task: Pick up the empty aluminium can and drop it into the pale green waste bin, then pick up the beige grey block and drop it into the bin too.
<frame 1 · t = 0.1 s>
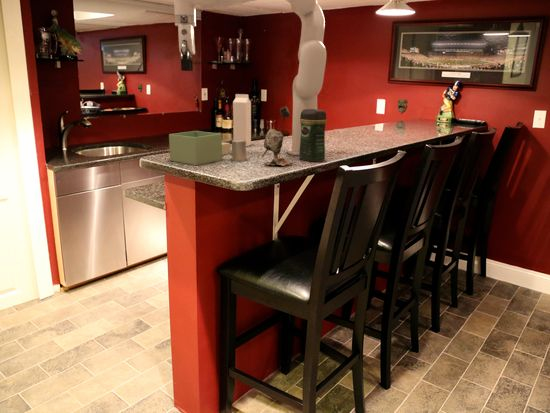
hand: (187, 70, 167), 31 cm above the countertop, tool pointing down, fingers open, 9 cm apart
coffee jar: (311, 160, 166), on the countertop
plant with pod: (275, 165, 156), on the countertop
beige grey block: (222, 153, 177), on the countertop
bin: (196, 160, 162), on the countertop
empty can: (239, 159, 165), on the countertop
milk: (242, 145, 197), on the countertop
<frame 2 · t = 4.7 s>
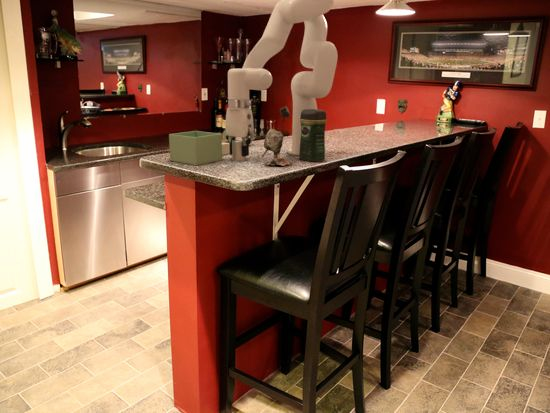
hand: (239, 154, 164), 2 cm above the countertop, tool pointing down, fingers closed on empty can, 5 cm apart
empty can: (239, 159, 165), on the countertop, touching gripper
everything else where it was.
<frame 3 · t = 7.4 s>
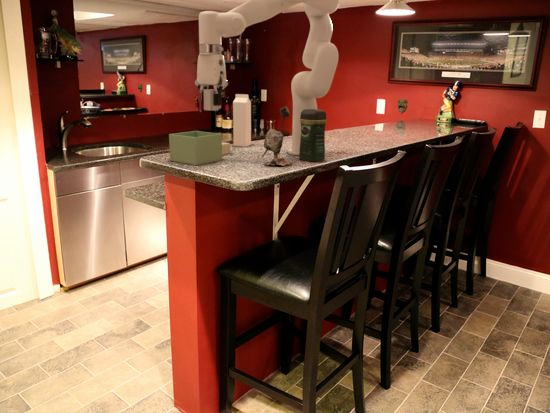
hand: (211, 104, 157), 20 cm above the countertop, tool pointing down, fingers closed on empty can, 5 cm apart
empty can: (211, 109, 158), point 18 cm above the countertop, touching gripper
everything else where it was.
when the fingers open (12 cm above the countertop, at t = 10.1 s): empty can drops 10 cm, resting on bin.
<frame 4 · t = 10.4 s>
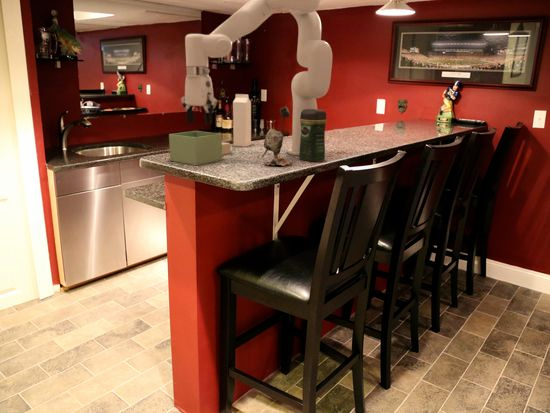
hand: (199, 123, 159), 13 cm above the countertop, tool pointing down, fingers open, 8 cm apart
empty can: (200, 158, 162), point 1 cm above the countertop, touching bin
everything else where it was.
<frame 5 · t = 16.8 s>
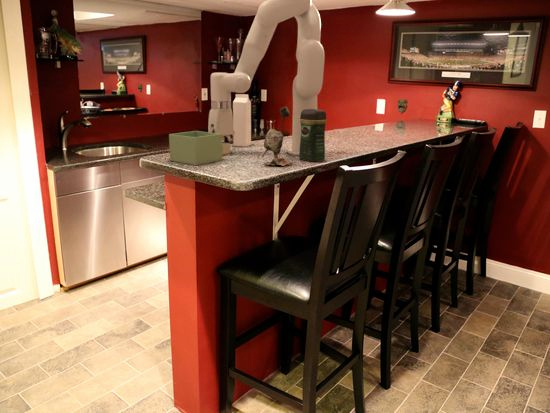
hand: (222, 152, 177), 0 cm above the countertop, tool pointing down, fingers closed on beige grey block, 4 cm apart
beige grey block: (221, 153, 177), on the countertop, touching gripper
everything else where it was.
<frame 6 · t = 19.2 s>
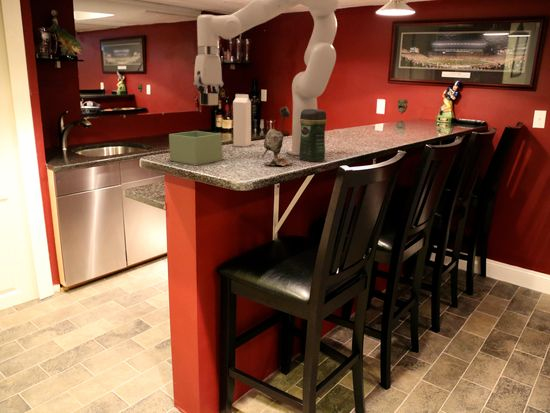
hand: (209, 103, 165), 20 cm above the countertop, tool pointing down, fingers closed on beige grey block, 4 cm apart
beige grey block: (209, 104, 166), point 19 cm above the countertop, touching gripper
everything else where it was.
when the fingers open (13 cm above the countertop, at t = 22.1 s): beige grey block drops 7 cm and tips over, resting on bin, empty can.
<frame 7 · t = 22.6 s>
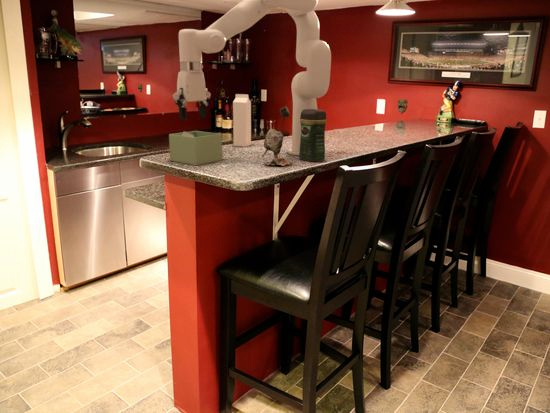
hand: (193, 118, 158), 15 cm above the countertop, tool pointing down, fingers open, 9 cm apart
beige grey block: (191, 143, 160), point 6 cm above the countertop, tilted 67°, touching bin, empty can
empty can: (200, 158, 162), point 1 cm above the countertop, touching bin, beige grey block
everything else where it was.
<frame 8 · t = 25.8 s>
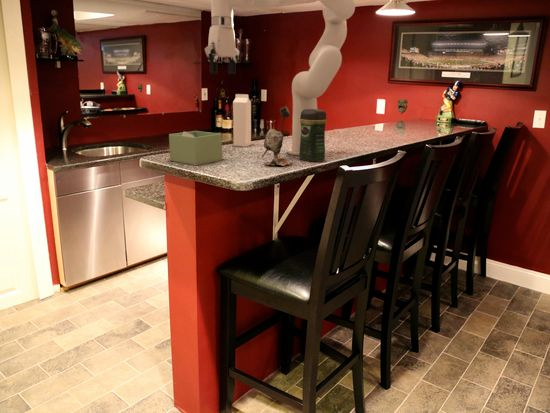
hand: (223, 73, 162), 30 cm above the countertop, tool pointing down, fingers open, 9 cm apart
nothing on the countertop moved.
at the end: empty can inside the target area in the bin (1.6 cm from its centre), point 0.5 cm above the bin's base; beige grey block inside the target area in the bin (1.6 cm from its centre), point 6.2 cm above the bin's base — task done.
